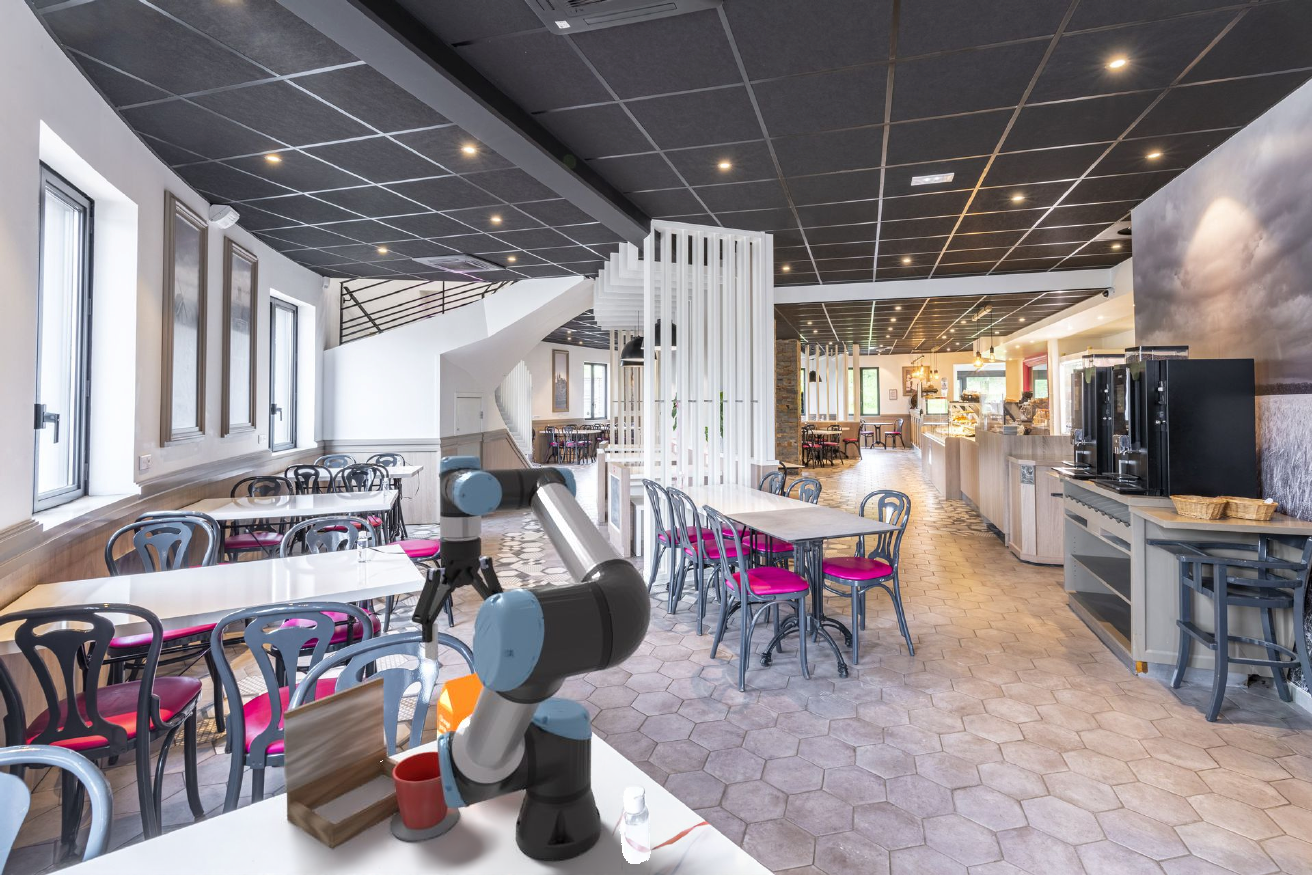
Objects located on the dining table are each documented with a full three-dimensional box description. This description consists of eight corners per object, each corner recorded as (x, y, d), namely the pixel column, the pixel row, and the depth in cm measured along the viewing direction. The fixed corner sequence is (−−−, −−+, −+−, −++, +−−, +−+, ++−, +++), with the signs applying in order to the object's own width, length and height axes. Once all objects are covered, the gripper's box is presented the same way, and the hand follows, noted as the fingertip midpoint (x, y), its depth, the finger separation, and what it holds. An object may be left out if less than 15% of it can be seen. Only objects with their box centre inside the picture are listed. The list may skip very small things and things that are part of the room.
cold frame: (429, 793, 129) (429, 694, 129) (332, 849, 112) (331, 735, 112) (377, 767, 139) (376, 675, 138) (280, 815, 122) (279, 710, 121)
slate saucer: (472, 815, 122) (472, 811, 122) (417, 850, 112) (417, 846, 112) (431, 794, 129) (431, 791, 129) (376, 826, 119) (376, 822, 119)
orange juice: (436, 769, 138) (436, 676, 138) (475, 755, 144) (475, 665, 144) (453, 784, 132) (452, 687, 132) (492, 769, 138) (492, 676, 138)
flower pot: (436, 839, 114) (436, 784, 114) (380, 831, 116) (380, 777, 116) (466, 804, 125) (465, 754, 124) (414, 797, 127) (414, 748, 127)
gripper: (496, 526, 136) (496, 626, 137) (390, 545, 115) (391, 663, 116) (522, 529, 132) (522, 633, 133) (417, 550, 111) (418, 672, 112)
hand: (461, 647), depth 124 cm, fingers open, 13 cm apart
